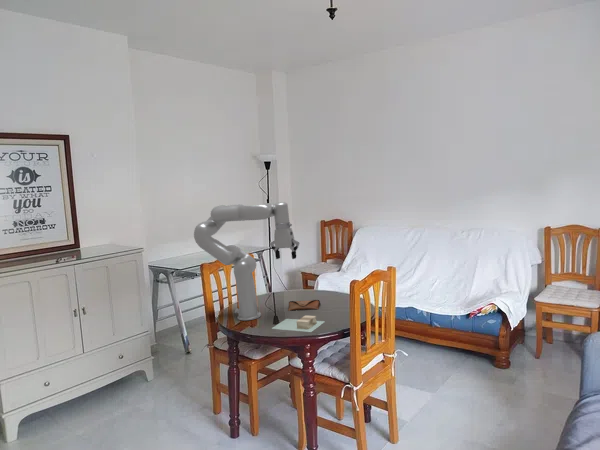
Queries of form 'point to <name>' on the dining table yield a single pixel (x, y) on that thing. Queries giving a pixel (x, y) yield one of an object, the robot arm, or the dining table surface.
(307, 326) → the card box
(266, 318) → the dining table surface
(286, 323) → the mat
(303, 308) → the sunglasses case
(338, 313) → the dining table surface
